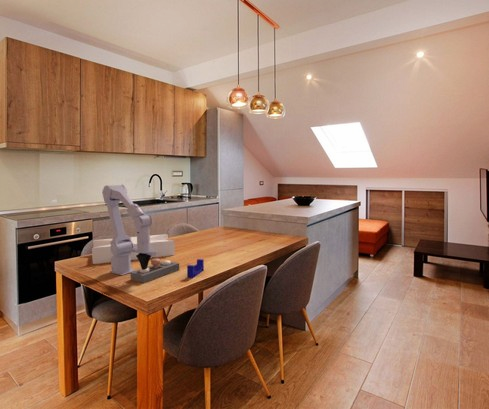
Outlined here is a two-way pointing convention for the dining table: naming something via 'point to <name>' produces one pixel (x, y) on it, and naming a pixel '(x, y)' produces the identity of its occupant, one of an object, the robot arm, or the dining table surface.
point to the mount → (154, 272)
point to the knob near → (144, 270)
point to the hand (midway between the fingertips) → (144, 268)
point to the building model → (157, 243)
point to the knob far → (166, 262)
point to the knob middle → (155, 263)
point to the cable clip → (195, 269)
